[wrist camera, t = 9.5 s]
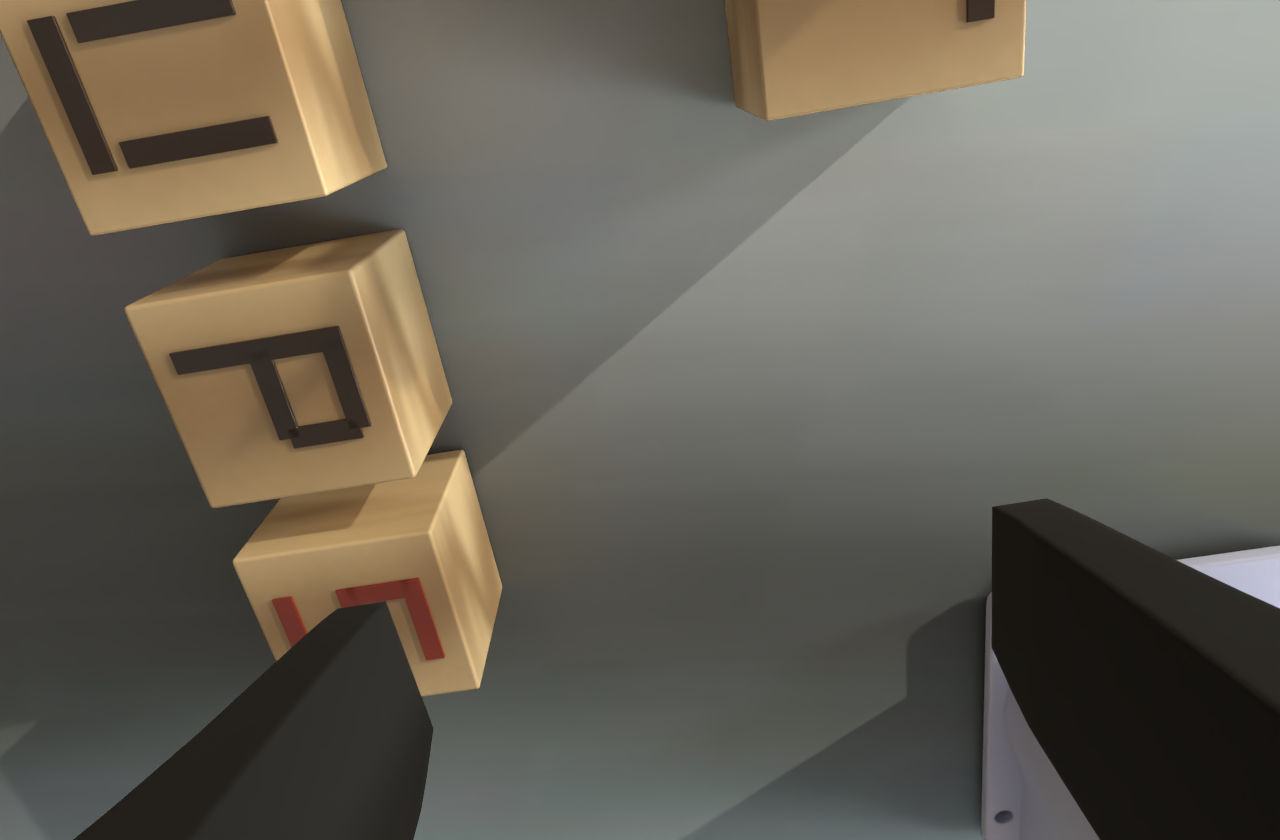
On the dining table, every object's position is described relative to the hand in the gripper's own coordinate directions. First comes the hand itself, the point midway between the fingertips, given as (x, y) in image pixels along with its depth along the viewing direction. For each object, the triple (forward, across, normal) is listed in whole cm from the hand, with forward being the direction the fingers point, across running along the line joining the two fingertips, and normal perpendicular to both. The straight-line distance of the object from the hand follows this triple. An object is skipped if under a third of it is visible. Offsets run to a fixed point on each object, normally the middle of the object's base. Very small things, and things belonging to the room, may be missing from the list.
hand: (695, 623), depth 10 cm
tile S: (+9, +7, +3) cm, 12 cm away
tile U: (+9, +7, -7) cm, 13 cm away
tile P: (+9, +7, -2) cm, 12 cm away
